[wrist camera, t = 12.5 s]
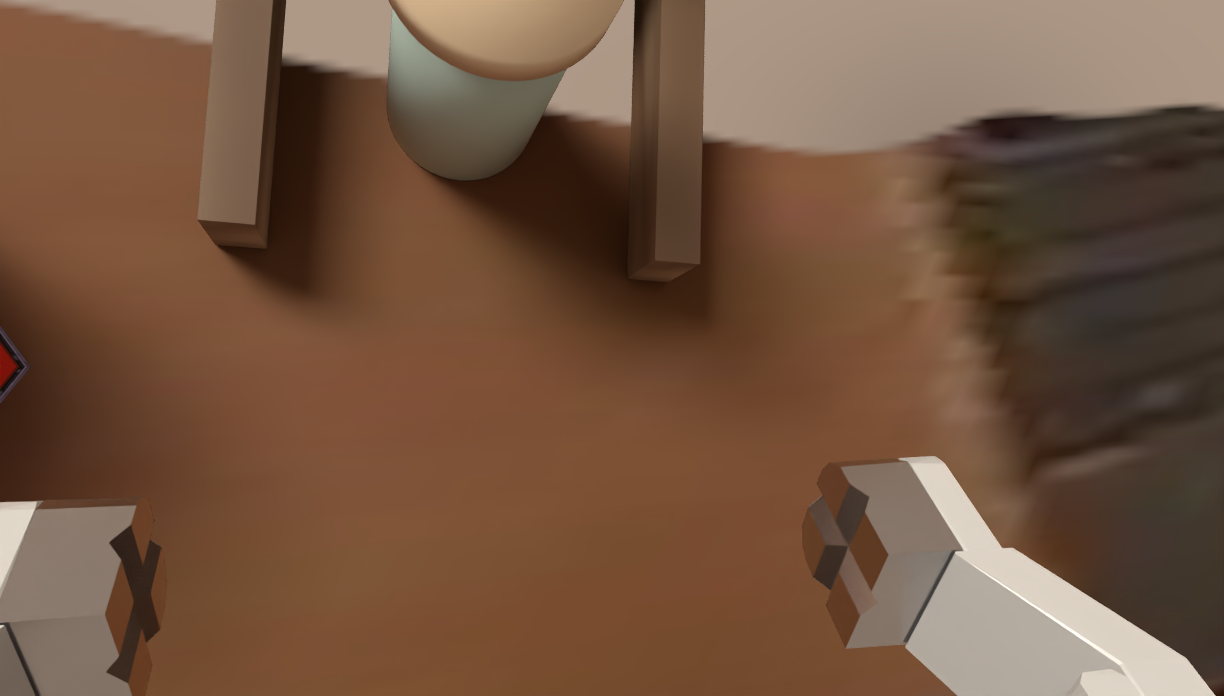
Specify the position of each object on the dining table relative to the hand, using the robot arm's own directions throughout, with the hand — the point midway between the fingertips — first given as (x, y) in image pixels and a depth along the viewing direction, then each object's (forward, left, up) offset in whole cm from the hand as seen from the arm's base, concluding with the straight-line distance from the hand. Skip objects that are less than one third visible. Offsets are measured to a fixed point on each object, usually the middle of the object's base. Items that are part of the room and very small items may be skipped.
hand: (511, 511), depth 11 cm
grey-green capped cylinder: (+1, +11, -17) cm, 20 cm away
